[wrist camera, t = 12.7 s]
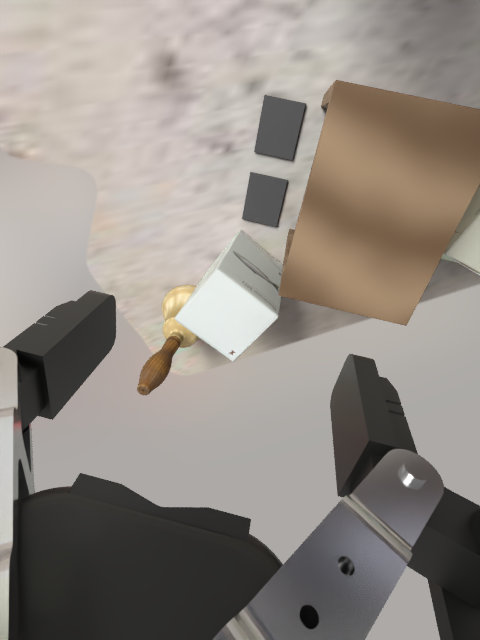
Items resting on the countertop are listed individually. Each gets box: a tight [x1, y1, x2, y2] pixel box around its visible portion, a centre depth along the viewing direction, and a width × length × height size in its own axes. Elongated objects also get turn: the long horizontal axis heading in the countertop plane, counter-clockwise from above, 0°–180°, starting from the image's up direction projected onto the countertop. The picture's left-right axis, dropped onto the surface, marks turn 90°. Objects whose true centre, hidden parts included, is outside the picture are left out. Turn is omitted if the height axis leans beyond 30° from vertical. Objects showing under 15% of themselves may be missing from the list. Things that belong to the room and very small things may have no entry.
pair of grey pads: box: [242, 95, 306, 227], centre depth 36 cm, size 12×4×1 cm, turn 170°
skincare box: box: [444, 184, 480, 276], centre depth 30 cm, size 6×4×12 cm
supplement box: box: [175, 230, 283, 362], centre depth 37 cm, size 7×7×13 cm
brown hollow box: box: [279, 80, 480, 326], centre depth 30 cm, size 14×10×15 cm
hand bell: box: [137, 285, 200, 395], centre depth 40 cm, size 8×8×16 cm
